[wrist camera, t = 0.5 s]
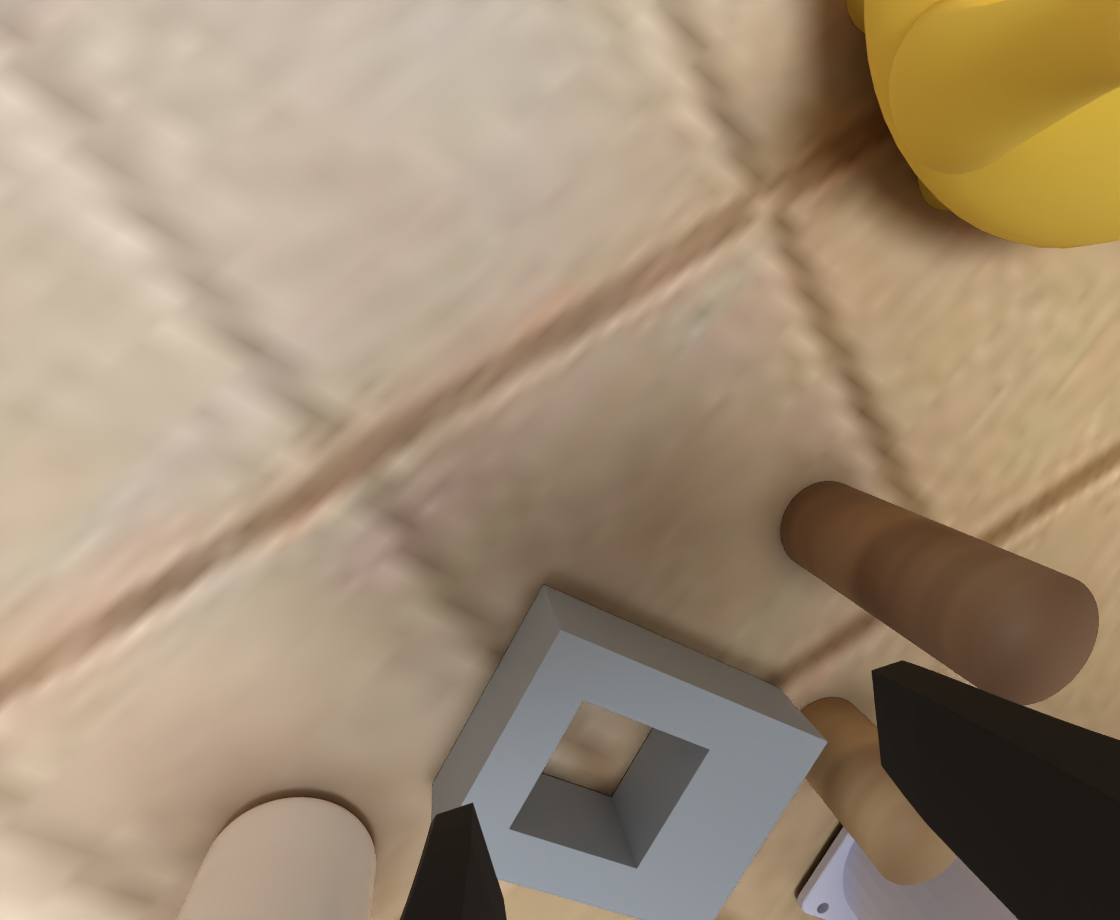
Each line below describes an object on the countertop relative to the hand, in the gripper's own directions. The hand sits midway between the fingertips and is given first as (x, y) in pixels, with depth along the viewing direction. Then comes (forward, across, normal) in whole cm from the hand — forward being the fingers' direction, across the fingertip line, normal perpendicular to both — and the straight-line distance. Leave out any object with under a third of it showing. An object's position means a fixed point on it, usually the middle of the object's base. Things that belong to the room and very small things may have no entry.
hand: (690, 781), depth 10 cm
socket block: (+10, 0, +7) cm, 12 cm away
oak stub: (+10, -8, +10) cm, 16 cm away
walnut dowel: (+10, -9, +1) cm, 13 cm away
